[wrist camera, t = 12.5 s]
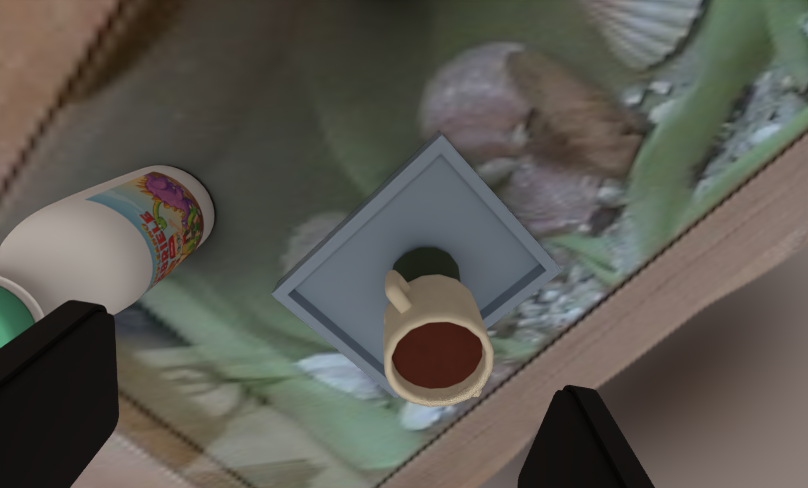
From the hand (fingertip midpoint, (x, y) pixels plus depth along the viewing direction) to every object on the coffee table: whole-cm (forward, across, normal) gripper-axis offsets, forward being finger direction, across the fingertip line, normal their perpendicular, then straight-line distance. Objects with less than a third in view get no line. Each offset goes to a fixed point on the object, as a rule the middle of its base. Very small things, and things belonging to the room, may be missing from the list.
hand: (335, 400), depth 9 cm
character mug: (+28, -6, +10) cm, 31 cm away
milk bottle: (+29, +17, +9) cm, 35 cm away
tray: (+29, -5, +10) cm, 31 cm away
